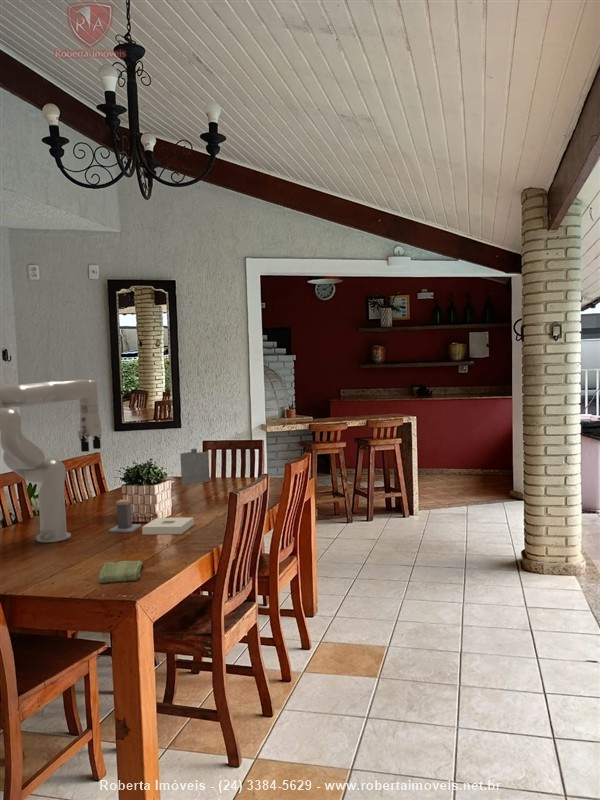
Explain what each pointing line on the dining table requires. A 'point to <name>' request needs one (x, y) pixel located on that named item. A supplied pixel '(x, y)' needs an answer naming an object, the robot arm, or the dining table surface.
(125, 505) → the plug
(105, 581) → the washcloth
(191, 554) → the dining table surface
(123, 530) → the mat
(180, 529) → the white square slab
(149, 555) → the dining table surface
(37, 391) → the robot arm
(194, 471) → the hip flask
